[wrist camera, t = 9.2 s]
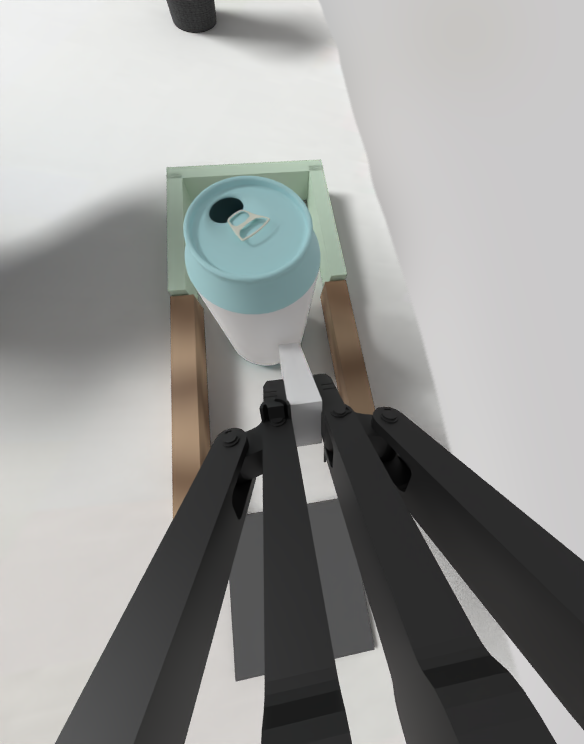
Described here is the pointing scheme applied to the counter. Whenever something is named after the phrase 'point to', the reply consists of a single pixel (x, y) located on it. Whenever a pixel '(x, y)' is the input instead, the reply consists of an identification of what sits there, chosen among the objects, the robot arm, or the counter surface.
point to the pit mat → (336, 582)
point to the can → (253, 262)
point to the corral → (293, 174)
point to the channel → (192, 377)
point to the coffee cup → (193, 14)
